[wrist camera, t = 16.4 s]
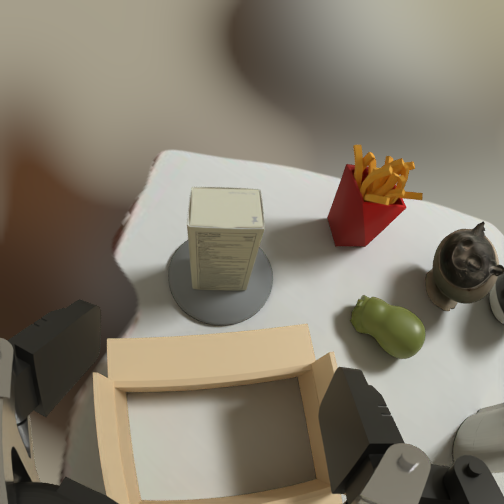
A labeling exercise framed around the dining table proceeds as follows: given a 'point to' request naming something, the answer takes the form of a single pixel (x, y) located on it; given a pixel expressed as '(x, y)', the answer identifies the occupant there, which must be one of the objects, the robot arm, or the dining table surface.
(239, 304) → the coaster
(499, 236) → the dining table surface
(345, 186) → the french fries
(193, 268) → the skincare box
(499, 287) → the dark grey rounded figure
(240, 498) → the carton
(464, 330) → the dining table surface
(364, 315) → the pear
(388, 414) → the robot arm
